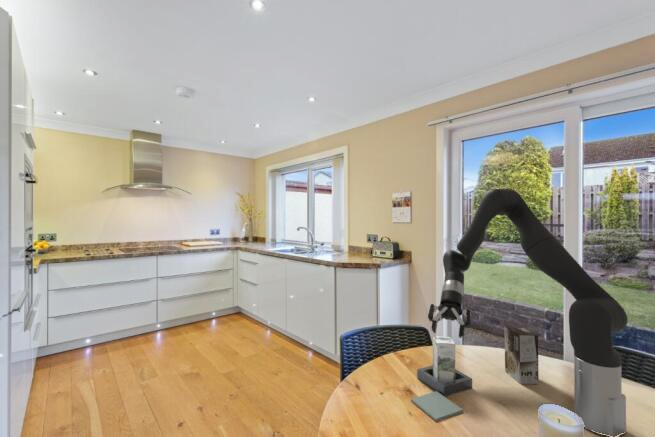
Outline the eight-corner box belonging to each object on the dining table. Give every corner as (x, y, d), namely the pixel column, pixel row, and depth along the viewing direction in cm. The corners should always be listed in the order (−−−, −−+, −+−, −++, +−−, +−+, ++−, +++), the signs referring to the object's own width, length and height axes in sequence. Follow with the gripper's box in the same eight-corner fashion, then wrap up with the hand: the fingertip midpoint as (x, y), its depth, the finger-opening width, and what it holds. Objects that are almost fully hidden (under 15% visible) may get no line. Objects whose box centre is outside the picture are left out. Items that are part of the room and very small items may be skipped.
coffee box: (539, 384, 98) (539, 335, 98) (519, 384, 98) (519, 335, 98) (522, 370, 107) (521, 325, 107) (504, 370, 107) (503, 325, 108)
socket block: (472, 388, 96) (472, 378, 96) (443, 396, 91) (443, 387, 91) (443, 370, 107) (443, 362, 107) (417, 378, 102) (417, 369, 102)
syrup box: (450, 378, 102) (449, 335, 102) (455, 388, 96) (455, 343, 96) (432, 377, 102) (432, 335, 102) (437, 387, 96) (437, 342, 97)
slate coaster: (462, 411, 84) (462, 409, 84) (435, 421, 80) (435, 419, 80) (436, 393, 93) (436, 391, 93) (410, 400, 89) (410, 398, 89)
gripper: (431, 286, 116) (424, 325, 106) (471, 291, 109) (468, 333, 99) (434, 297, 120) (427, 335, 111) (473, 302, 113) (470, 343, 103)
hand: (447, 334), depth 105 cm, fingers open, 8 cm apart
